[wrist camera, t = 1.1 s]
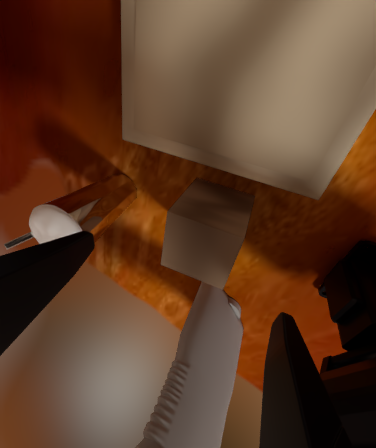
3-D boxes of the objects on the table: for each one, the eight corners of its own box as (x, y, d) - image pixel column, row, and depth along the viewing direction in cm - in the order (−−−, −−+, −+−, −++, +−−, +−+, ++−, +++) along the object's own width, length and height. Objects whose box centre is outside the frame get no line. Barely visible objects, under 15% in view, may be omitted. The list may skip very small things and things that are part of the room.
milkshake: (91, 167, 22) (-16, 218, 14) (136, 165, 20) (40, 222, 12) (106, 208, 24) (22, 270, 16) (148, 209, 22) (75, 281, 14)
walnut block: (255, 195, 18) (244, 238, 13) (236, 241, 21) (222, 289, 16) (197, 177, 19) (167, 211, 14) (187, 223, 22) (160, 264, 17)
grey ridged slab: (189, 275, 25) (-10, 687, 8) (221, 270, 23) (41, 814, 6) (225, 334, 29) (140, 703, 12) (256, 335, 27) (205, 786, 10)
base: (476, -96, 8) (539, -152, 6) (314, 184, 16) (318, 201, 14) (148, -118, 11) (117, -163, 9) (139, 132, 18) (121, 139, 16)
